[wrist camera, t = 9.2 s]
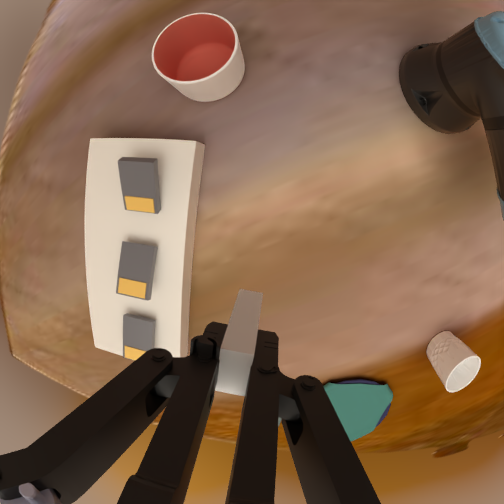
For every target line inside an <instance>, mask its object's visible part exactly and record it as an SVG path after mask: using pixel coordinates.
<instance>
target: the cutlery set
mask: <svg viewBox="0 0 504 504" xmlns="http://www.w3.org/2000/svg"><path fill="white" fill-rule="evenodd" d="M323 387H324V389H325V391H326V393H327V395H328V397H329V399H330V401H331V403H332V405H333V407H334V409H335V411H336V413H337V415H338V417H339V419H340V421H341V423H342V425H343V427H344V429H345V431H346V433H347V435H348V437H349V439H350V441H353V440H355V439H358V438H360V437H362V436H364V435H366V434H368V433H370V432H371V431H373V430H374V429H375V427H376V426H378V425H379V424H380V423H381V421H382V420H383V419H384V418H385V416H386V415H387V413H388V411H389V408H390V405H391V400H392V398H393V393H392V391H391V390H390V388H389V386H388V384H386V385H380V384H379V383H377V382H375V381H370V380H364V379H356V380H345V381H341V382H338V383H335V384H333V383H327V384H326V385H324V386H323ZM280 421H281V418H279V417H278V426H279V424H280Z"/></svg>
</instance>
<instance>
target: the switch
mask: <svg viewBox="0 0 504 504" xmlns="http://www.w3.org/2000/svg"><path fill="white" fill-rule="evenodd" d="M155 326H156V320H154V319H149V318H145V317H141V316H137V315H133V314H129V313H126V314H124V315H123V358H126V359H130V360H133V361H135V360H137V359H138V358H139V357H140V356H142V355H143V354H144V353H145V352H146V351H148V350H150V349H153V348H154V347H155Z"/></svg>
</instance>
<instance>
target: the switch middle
mask: <svg viewBox="0 0 504 504" xmlns="http://www.w3.org/2000/svg"><path fill="white" fill-rule="evenodd" d="M157 249H158V247H156V246H150V245H144V244H138V243H131V242H125V241H122V247H121V253H120V261H119V269H118V277H117V286H116V294H121V295H125V296H129V297H134V298H138V299H142V300H147V301H148V300H151V294H152V285H153V277H154V270H155V263H156V256H157Z"/></svg>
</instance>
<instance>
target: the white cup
mask: <svg viewBox="0 0 504 504" xmlns="http://www.w3.org/2000/svg"><path fill="white" fill-rule="evenodd" d="M426 353H427V357H428V359H429V360H430V362H431V364H432V366H433V368H434V369H435V371H436V373H437V375H438V376H439V378H440V380H441V381H442V383H443V385H444V386H445V388H446V390H447V391H449V392H456V391H459V390H461V389H463V388H464V387H466V386H467V385H468V384H469V383H470V382H471V381H472V380H473V379H474V377H475V376H476V375H477V373H478V371H479V368H480V365H481V360H480V358H479V357H478V356H477V355H476V354H475V353H474V352H473V351H472V350H471V349H470V348H469V347H468V346H467V345H466V344H465V343H463V342H462V341H461V340H460V339H459V338H457V337H456V336H455V335H453V334H452V333H451V332H450V331H443V332H441V333H439V334H437V335H436V336H435V337H434V338H433V339H432V340H431V341H430V343H429V345H428V347H427V351H426Z"/></svg>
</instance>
